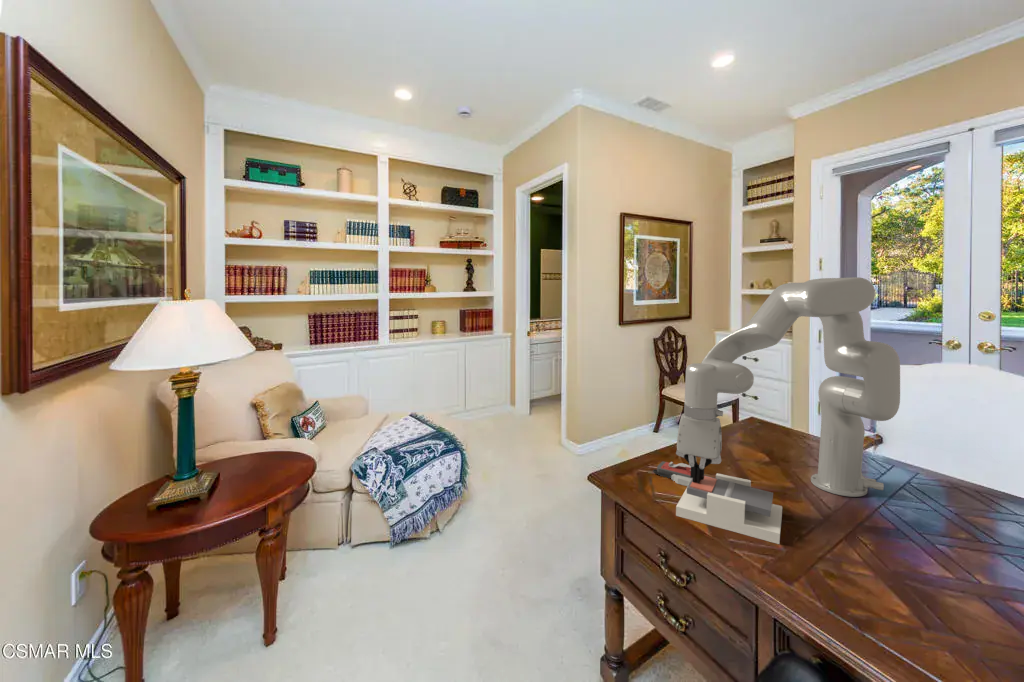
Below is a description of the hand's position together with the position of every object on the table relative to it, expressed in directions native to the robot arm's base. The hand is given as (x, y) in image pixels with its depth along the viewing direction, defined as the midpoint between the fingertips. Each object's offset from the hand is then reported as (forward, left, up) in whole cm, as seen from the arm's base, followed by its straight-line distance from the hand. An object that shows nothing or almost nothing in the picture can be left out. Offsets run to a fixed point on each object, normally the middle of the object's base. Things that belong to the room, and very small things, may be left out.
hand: (697, 480), depth 107 cm
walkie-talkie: (+5, -15, -8) cm, 18 cm away
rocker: (-8, 0, -1) cm, 8 cm away
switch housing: (-8, 0, -7) cm, 11 cm away
